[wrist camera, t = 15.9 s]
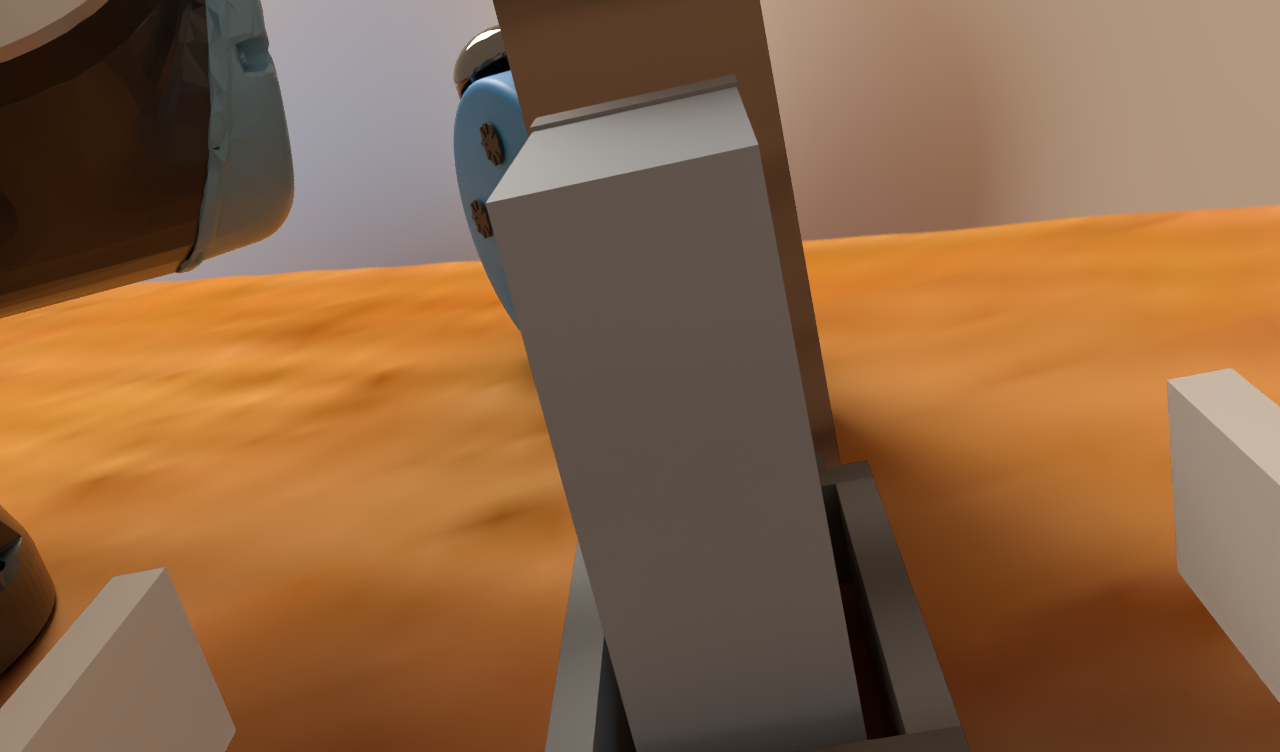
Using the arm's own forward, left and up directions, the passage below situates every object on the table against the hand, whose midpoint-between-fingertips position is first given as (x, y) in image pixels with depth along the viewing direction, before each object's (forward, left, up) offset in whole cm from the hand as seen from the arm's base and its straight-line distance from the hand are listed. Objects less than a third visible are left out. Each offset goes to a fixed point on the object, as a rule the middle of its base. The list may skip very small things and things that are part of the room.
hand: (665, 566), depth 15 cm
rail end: (-5, +8, -10) cm, 14 cm away
